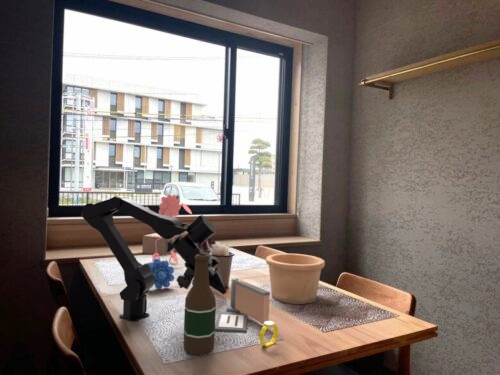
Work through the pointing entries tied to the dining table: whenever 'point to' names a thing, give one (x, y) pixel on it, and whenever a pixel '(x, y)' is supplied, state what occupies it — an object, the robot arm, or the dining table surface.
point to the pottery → (294, 277)
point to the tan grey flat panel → (250, 300)
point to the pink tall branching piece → (170, 209)
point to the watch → (262, 332)
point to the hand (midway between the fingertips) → (225, 293)
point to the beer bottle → (200, 311)
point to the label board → (231, 320)
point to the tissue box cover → (157, 244)
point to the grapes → (161, 273)
